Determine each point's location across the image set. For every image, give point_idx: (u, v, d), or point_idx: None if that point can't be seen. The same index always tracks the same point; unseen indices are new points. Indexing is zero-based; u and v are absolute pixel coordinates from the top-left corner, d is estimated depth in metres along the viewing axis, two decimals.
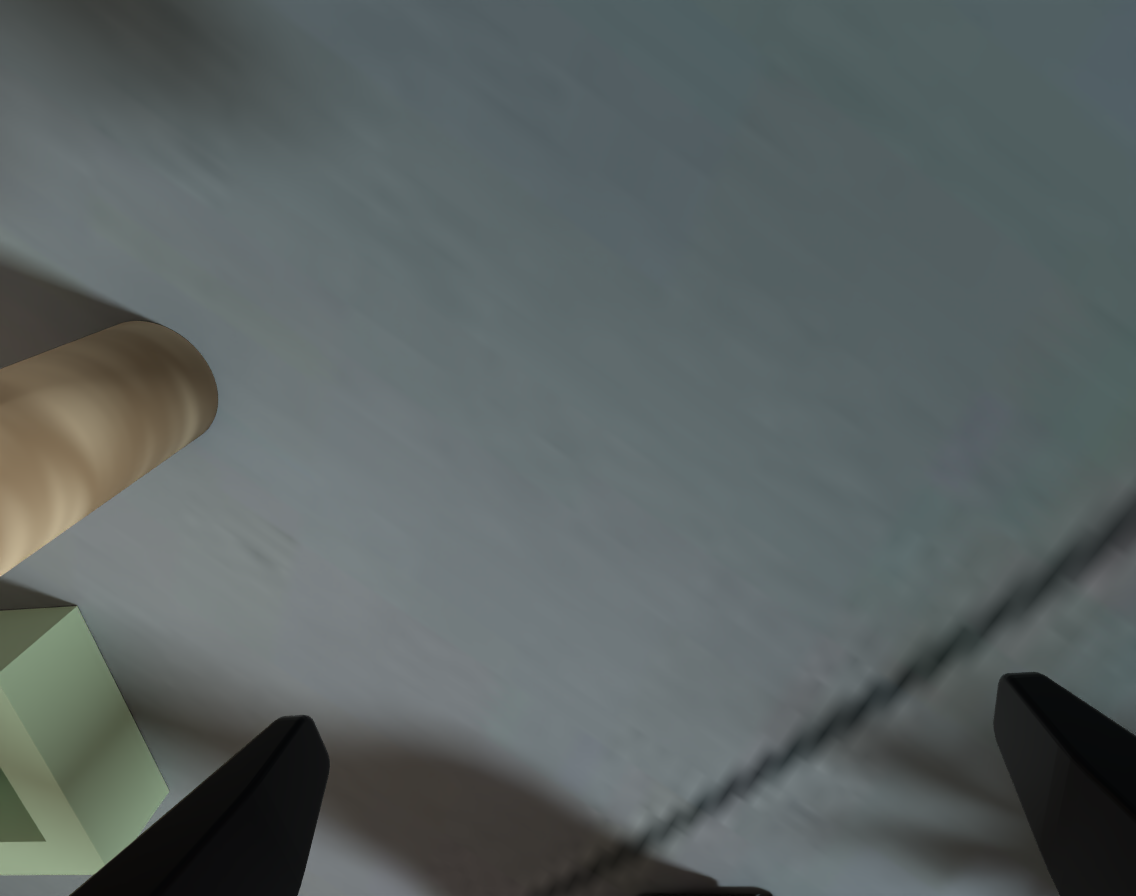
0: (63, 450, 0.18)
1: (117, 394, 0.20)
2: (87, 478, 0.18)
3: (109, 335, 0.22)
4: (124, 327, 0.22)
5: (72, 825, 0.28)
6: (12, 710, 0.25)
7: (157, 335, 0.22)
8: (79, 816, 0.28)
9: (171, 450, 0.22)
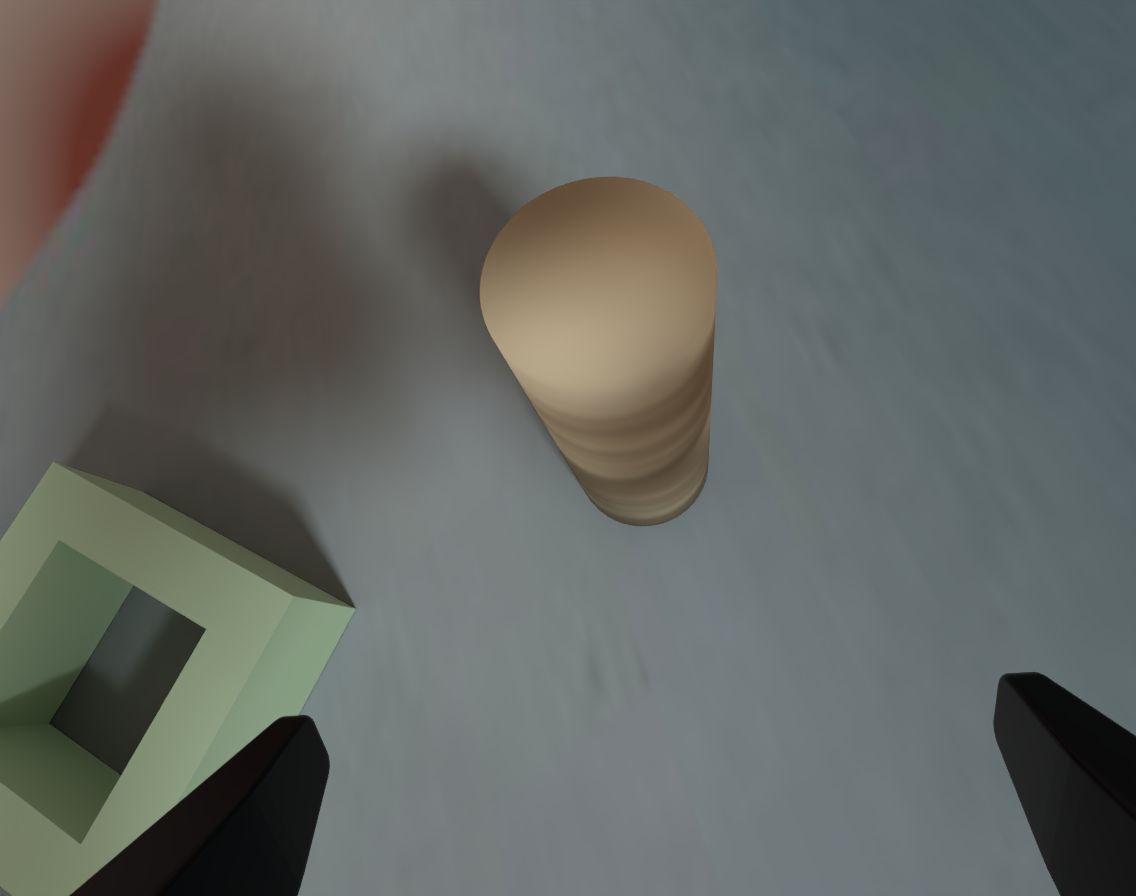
0: (709, 406, 0.18)
1: None
2: (691, 444, 0.18)
3: None
4: None
5: None
6: (261, 645, 0.20)
7: None
8: None
9: (663, 505, 0.21)
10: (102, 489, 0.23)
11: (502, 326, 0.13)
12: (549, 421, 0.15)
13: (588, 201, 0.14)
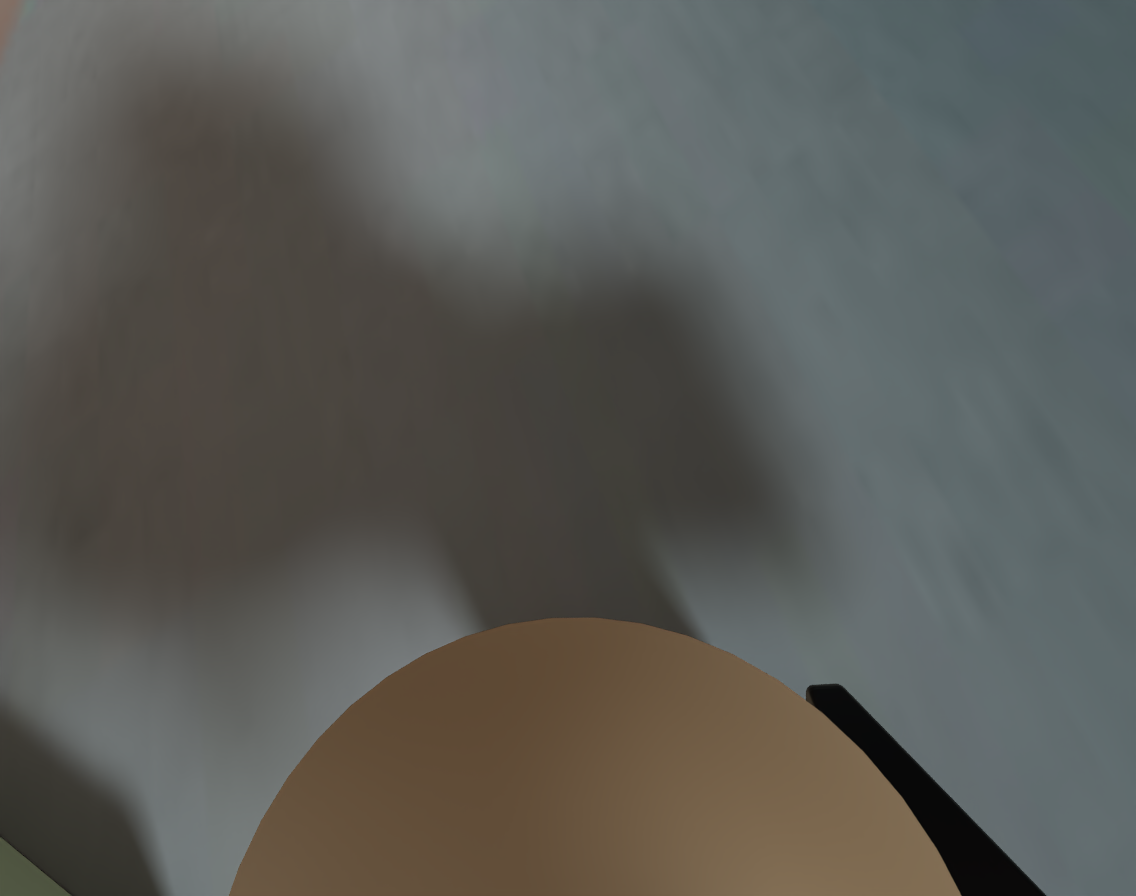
0: None
1: None
2: None
3: None
4: None
5: None
6: None
7: None
8: None
9: None
10: None
11: None
12: None
13: (555, 706, 0.04)
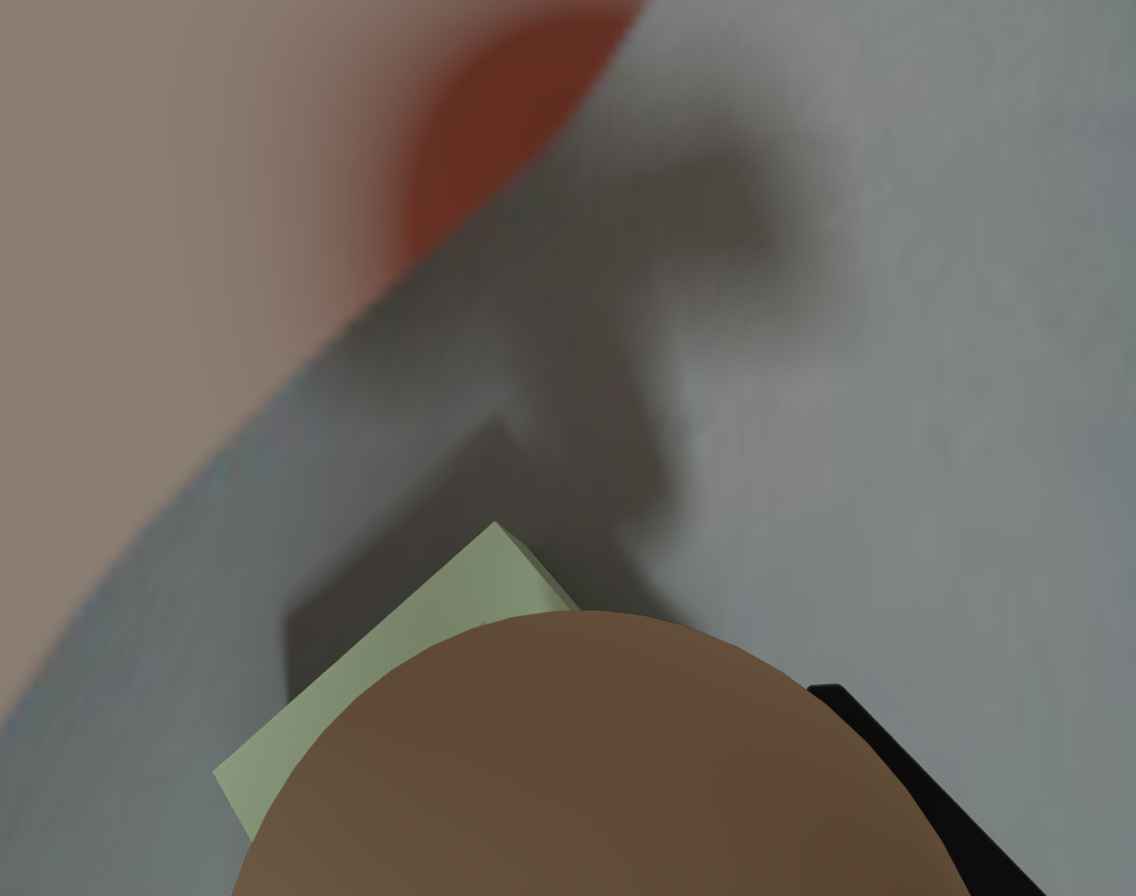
0: None
1: None
2: None
3: None
4: None
5: None
6: None
7: None
8: None
9: None
10: (545, 581, 0.20)
11: None
12: None
13: (560, 698, 0.04)
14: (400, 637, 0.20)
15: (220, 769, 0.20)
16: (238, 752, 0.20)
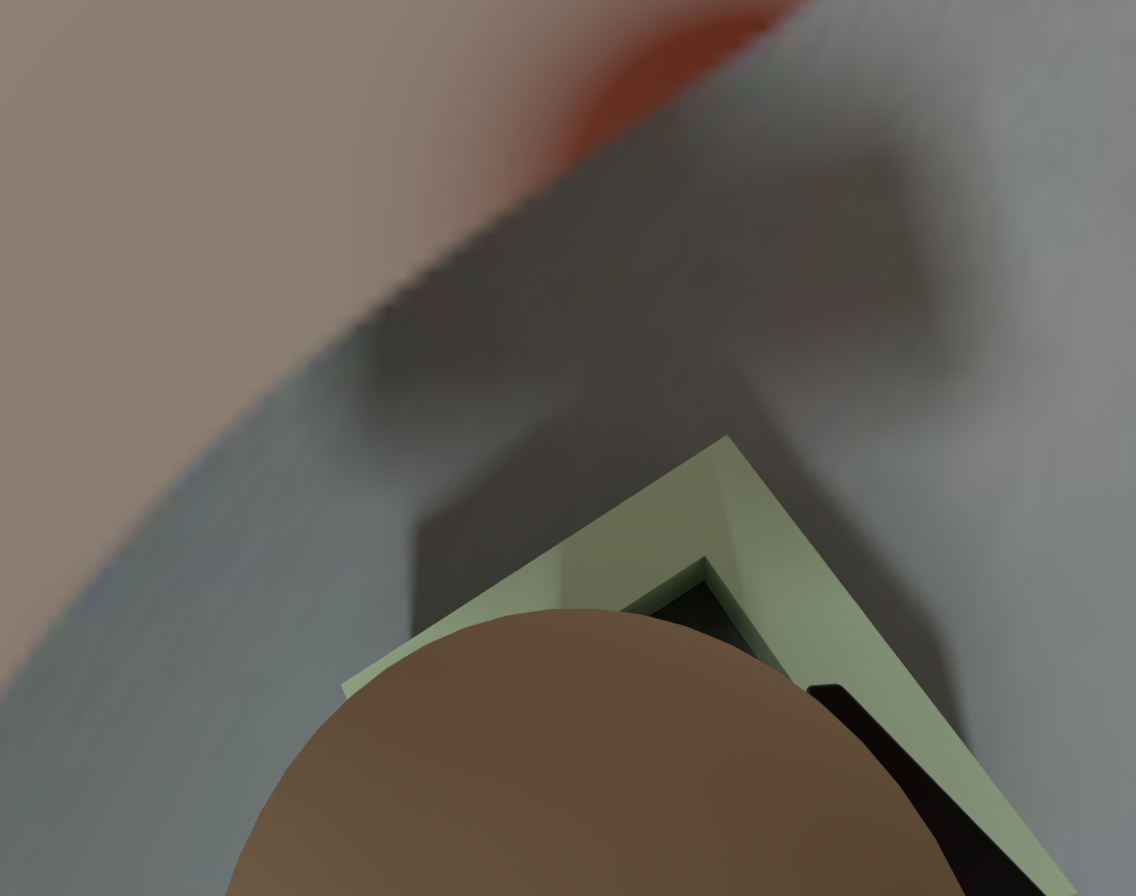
0: None
1: None
2: None
3: None
4: None
5: None
6: None
7: None
8: None
9: None
10: (790, 518, 0.15)
11: None
12: None
13: (554, 696, 0.04)
14: (593, 559, 0.16)
15: (351, 683, 0.16)
16: (374, 666, 0.16)
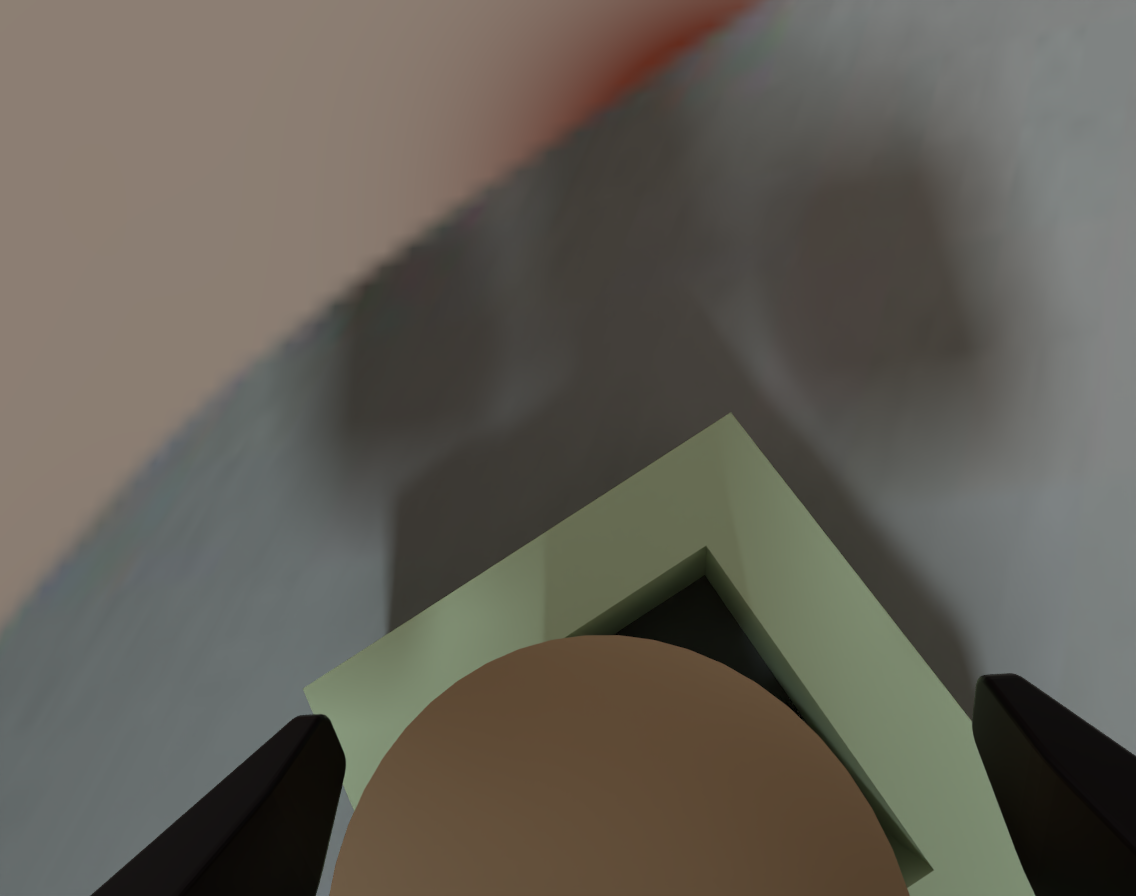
0: None
1: None
2: None
3: None
4: None
5: None
6: None
7: None
8: None
9: None
10: (800, 504, 0.14)
11: None
12: None
13: (588, 702, 0.06)
14: (582, 550, 0.14)
15: (314, 687, 0.14)
16: (340, 668, 0.14)
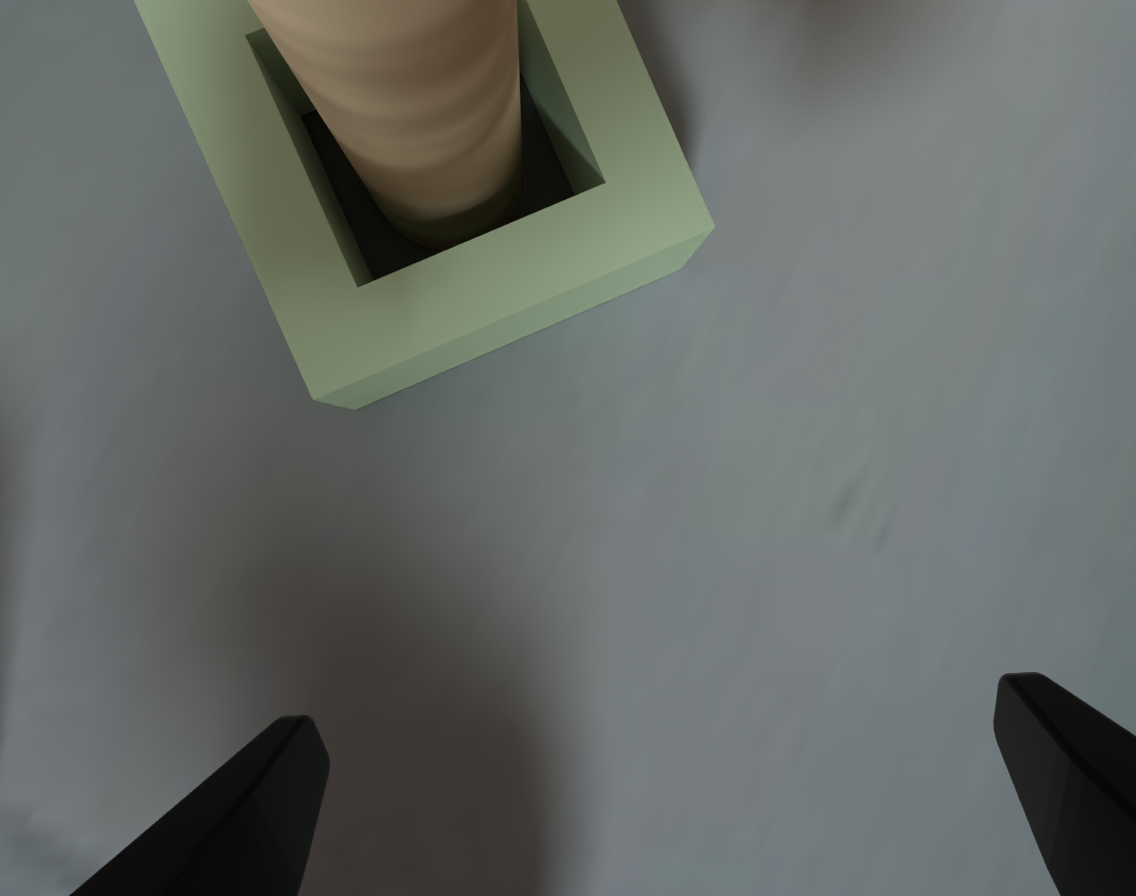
0: (508, 93, 0.14)
1: (519, 125, 0.17)
2: (480, 139, 0.14)
3: None
4: None
5: (421, 334, 0.17)
6: (652, 247, 0.17)
7: None
8: (442, 344, 0.17)
9: (453, 223, 0.18)
10: None
11: None
12: (278, 46, 0.12)
13: None
14: None
15: None
16: None
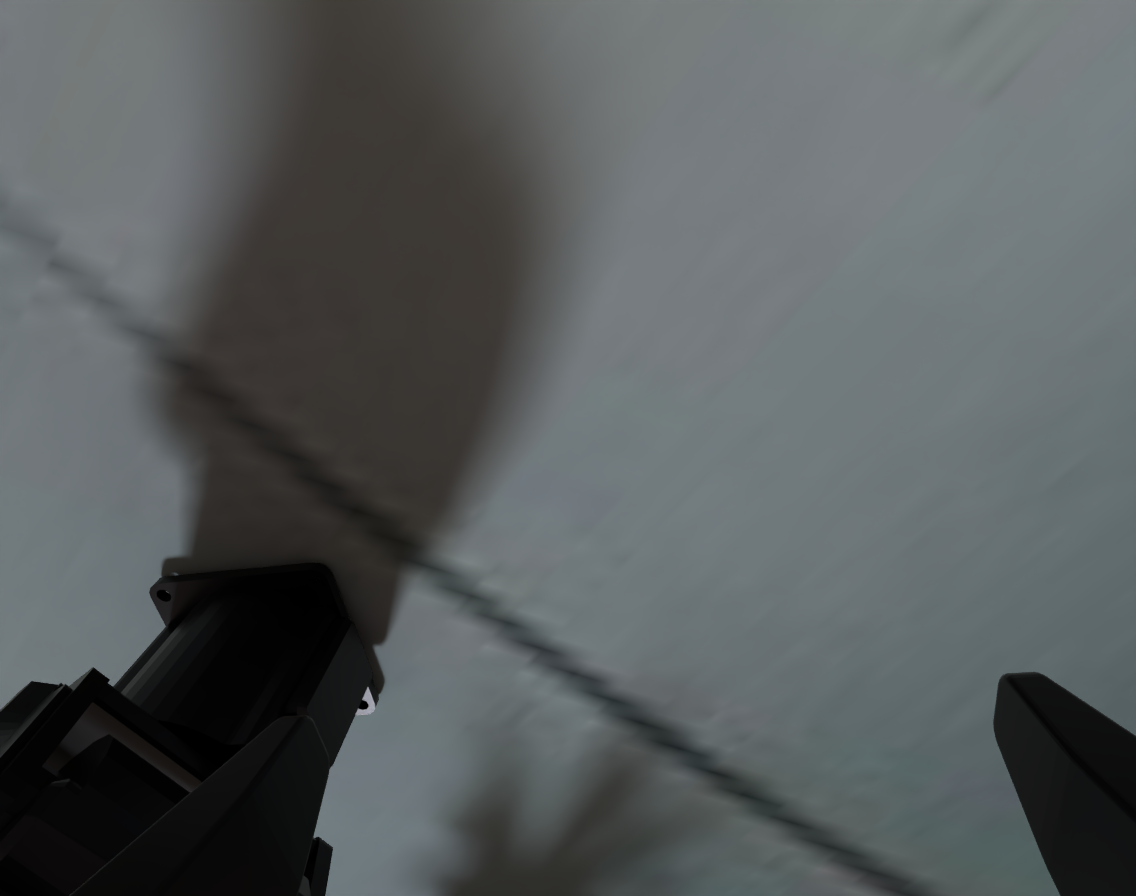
0: None
1: None
2: None
3: None
4: None
5: None
6: None
7: None
8: None
9: None
10: None
11: None
12: None
13: None
14: None
15: None
16: None
